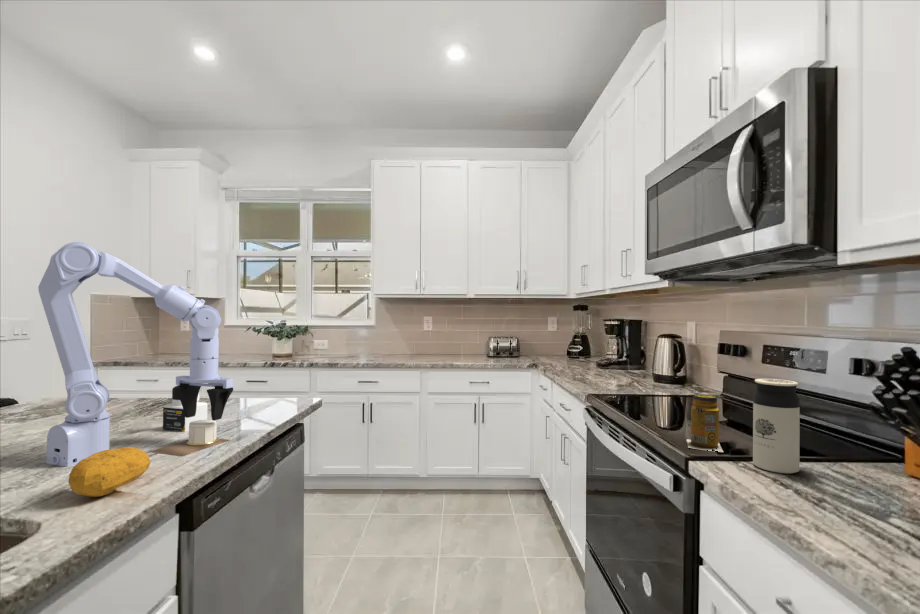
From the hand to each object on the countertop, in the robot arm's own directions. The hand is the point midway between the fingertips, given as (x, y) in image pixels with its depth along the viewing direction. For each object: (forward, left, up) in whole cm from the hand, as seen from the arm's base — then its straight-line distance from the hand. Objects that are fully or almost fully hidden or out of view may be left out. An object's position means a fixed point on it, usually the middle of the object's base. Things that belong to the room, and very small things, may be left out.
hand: (203, 418), depth 106 cm
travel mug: (+28, -121, -7) cm, 124 cm away
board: (-3, 0, -7) cm, 7 cm away
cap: (0, 0, -5) cm, 5 cm away
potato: (-25, -6, -7) cm, 27 cm away
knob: (0, 0, -5) cm, 5 cm away
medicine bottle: (+9, +15, -7) cm, 19 cm away
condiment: (+41, -110, -7) cm, 118 cm away
